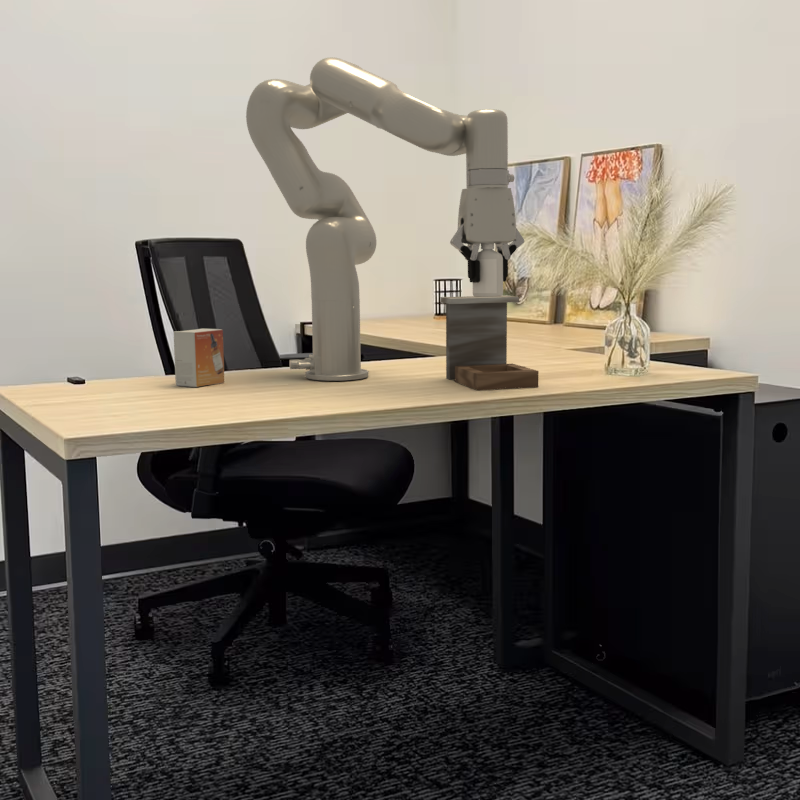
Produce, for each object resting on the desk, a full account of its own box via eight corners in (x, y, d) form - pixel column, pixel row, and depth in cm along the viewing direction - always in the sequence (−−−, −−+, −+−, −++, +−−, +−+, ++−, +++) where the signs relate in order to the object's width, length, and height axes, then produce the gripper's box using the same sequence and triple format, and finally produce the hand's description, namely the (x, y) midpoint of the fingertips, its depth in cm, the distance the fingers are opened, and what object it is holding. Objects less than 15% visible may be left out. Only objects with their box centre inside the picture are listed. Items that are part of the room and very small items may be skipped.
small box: (196, 388, 182) (193, 332, 180) (174, 386, 185) (172, 330, 183) (225, 382, 188) (223, 328, 187) (204, 380, 191) (202, 327, 190)
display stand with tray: (543, 386, 179) (544, 299, 176) (472, 390, 175) (472, 301, 172) (506, 375, 195) (506, 295, 193) (440, 378, 191) (440, 297, 189)
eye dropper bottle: (485, 297, 175) (485, 230, 174) (470, 296, 180) (469, 231, 179) (506, 296, 177) (505, 230, 175) (490, 295, 182) (489, 231, 180)
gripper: (519, 182, 182) (520, 280, 185) (436, 182, 176) (437, 282, 179) (538, 179, 175) (538, 280, 178) (451, 179, 169) (453, 283, 172)
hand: (487, 280), depth 178 cm, fingers closed on eye dropper bottle, 4 cm apart
